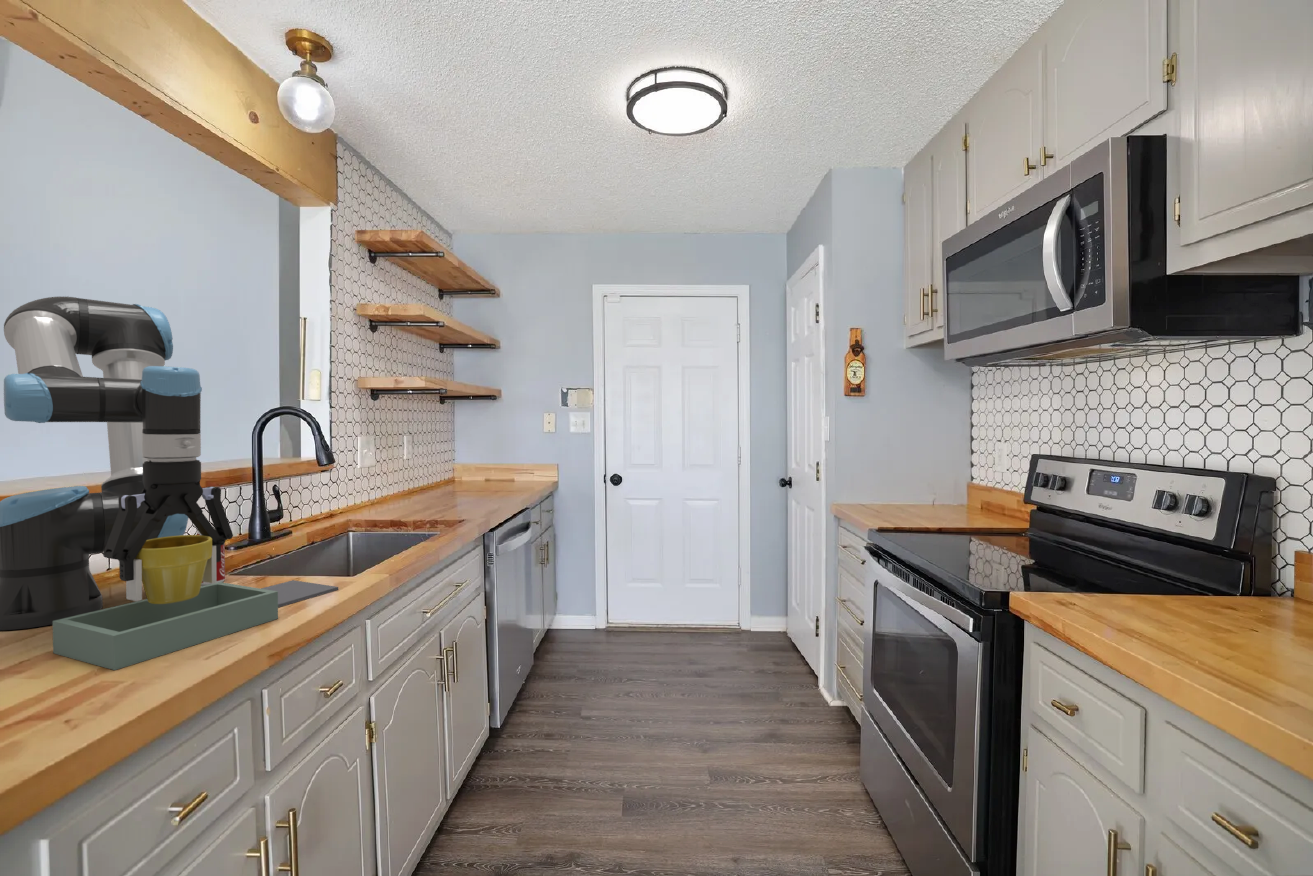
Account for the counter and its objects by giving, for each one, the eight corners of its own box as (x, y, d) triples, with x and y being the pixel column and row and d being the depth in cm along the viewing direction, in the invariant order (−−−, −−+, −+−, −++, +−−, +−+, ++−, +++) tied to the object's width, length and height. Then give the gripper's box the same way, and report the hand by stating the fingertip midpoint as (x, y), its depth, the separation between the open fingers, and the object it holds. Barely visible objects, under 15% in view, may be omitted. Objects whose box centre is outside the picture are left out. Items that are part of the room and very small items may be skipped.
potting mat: (226, 600, 116) (226, 597, 116) (293, 582, 129) (293, 580, 129) (273, 608, 111) (273, 605, 111) (338, 589, 124) (338, 586, 124)
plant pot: (166, 611, 91) (166, 549, 91) (115, 605, 93) (114, 545, 93) (227, 591, 101) (227, 536, 101) (180, 587, 103) (179, 533, 103)
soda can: (218, 585, 127) (217, 530, 127) (190, 586, 126) (190, 531, 125) (229, 579, 132) (228, 526, 132) (202, 580, 131) (201, 527, 130)
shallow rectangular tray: (53, 653, 89) (52, 621, 89) (220, 607, 111) (219, 582, 111) (114, 670, 83) (113, 635, 83) (278, 618, 105) (277, 591, 105)
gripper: (98, 465, 84) (100, 614, 85) (256, 456, 106) (257, 576, 106) (70, 462, 87) (72, 607, 88) (230, 454, 108) (230, 571, 109)
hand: (173, 590), depth 97 cm, fingers closed on plant pot, 10 cm apart
